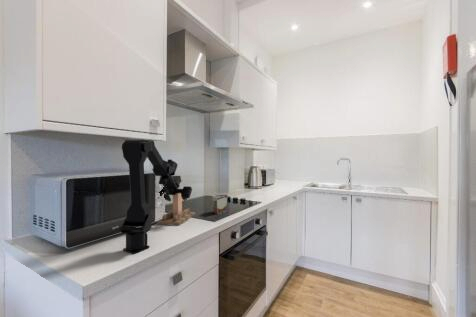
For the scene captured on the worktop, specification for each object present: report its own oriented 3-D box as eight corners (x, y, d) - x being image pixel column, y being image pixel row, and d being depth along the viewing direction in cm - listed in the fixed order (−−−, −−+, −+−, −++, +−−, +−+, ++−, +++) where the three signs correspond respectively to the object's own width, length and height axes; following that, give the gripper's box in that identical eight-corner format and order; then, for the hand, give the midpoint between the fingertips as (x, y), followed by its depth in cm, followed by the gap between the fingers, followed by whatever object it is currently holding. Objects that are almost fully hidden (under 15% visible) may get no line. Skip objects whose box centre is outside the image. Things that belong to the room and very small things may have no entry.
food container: (219, 209, 142) (219, 193, 142) (227, 210, 139) (227, 194, 139) (207, 213, 131) (207, 196, 131) (216, 214, 128) (216, 197, 128)
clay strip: (178, 217, 116) (177, 193, 116) (172, 217, 117) (172, 193, 117) (181, 215, 121) (181, 191, 121) (176, 215, 122) (176, 191, 122)
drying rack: (179, 225, 108) (179, 217, 108) (157, 224, 110) (157, 216, 110) (194, 214, 128) (194, 208, 128) (175, 214, 130) (175, 207, 130)
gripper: (190, 171, 114) (198, 189, 125) (157, 170, 117) (167, 188, 128) (184, 188, 106) (193, 206, 117) (148, 187, 109) (160, 205, 120)
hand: (178, 201), depth 121 cm, fingers open, 9 cm apart
